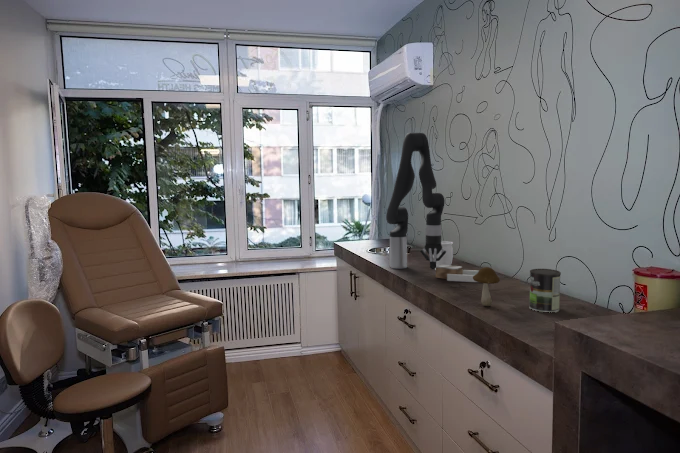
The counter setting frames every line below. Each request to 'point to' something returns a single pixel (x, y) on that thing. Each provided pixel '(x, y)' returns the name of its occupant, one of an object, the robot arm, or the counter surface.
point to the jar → (447, 256)
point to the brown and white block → (448, 270)
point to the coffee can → (544, 290)
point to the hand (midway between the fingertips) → (433, 269)
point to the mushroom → (486, 283)
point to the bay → (463, 276)
